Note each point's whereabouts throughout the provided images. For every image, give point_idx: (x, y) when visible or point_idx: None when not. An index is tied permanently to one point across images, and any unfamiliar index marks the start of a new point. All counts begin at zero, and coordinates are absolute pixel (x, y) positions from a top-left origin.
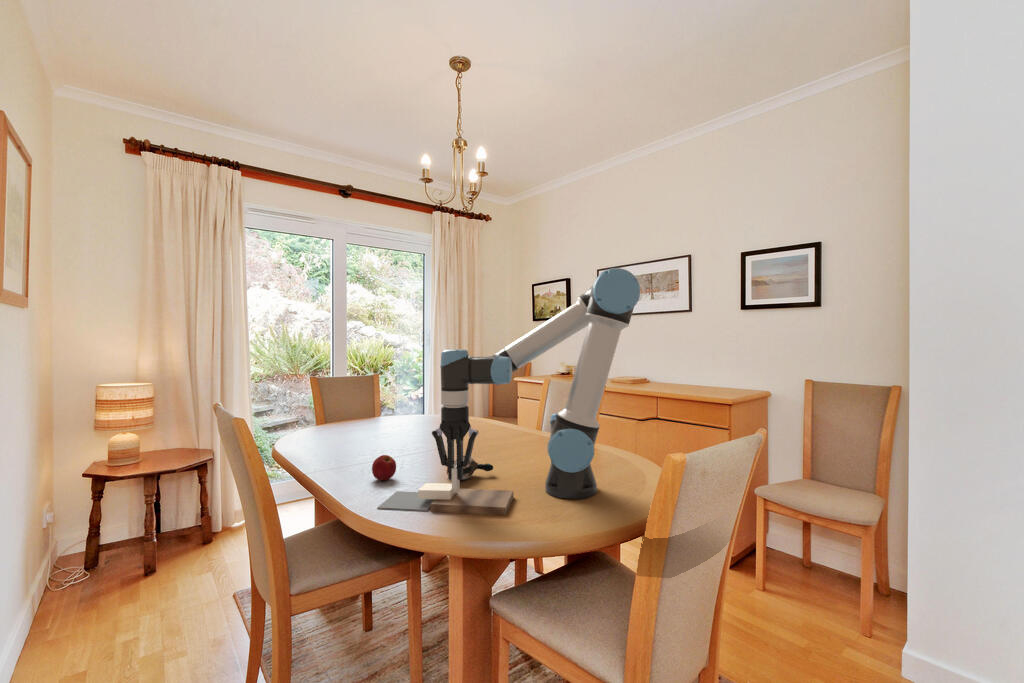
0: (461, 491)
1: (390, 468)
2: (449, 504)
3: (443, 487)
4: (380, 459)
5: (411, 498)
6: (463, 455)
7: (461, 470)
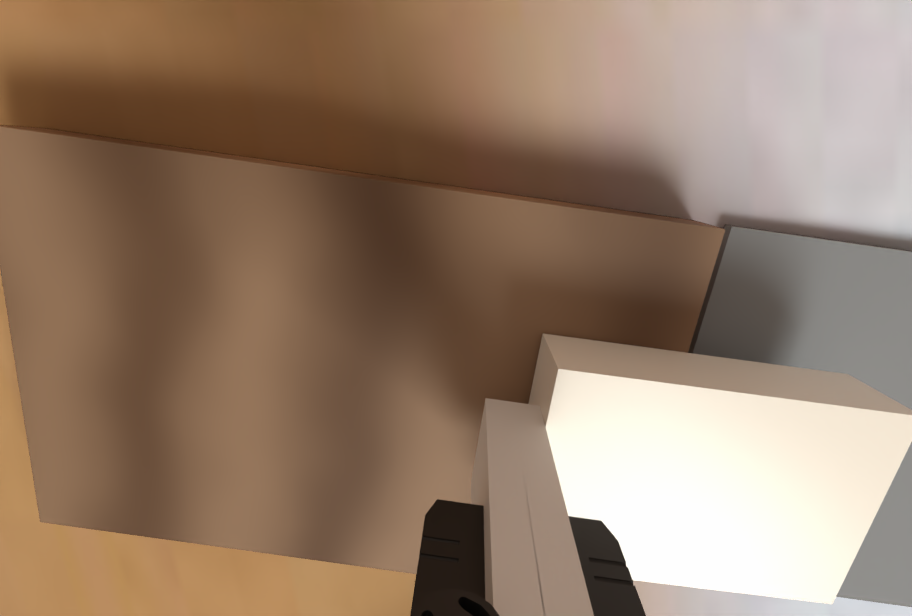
0: None
1: None
2: (537, 213)
3: (640, 472)
4: None
5: None
6: None
7: (412, 609)
